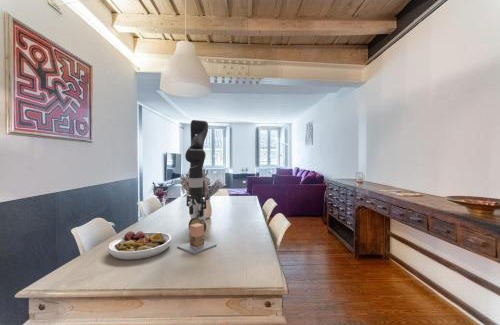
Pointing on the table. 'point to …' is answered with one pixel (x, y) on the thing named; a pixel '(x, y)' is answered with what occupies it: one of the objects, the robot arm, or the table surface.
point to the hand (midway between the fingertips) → (196, 215)
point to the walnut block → (196, 241)
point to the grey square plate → (198, 249)
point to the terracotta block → (196, 230)
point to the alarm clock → (197, 221)
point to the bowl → (139, 245)
